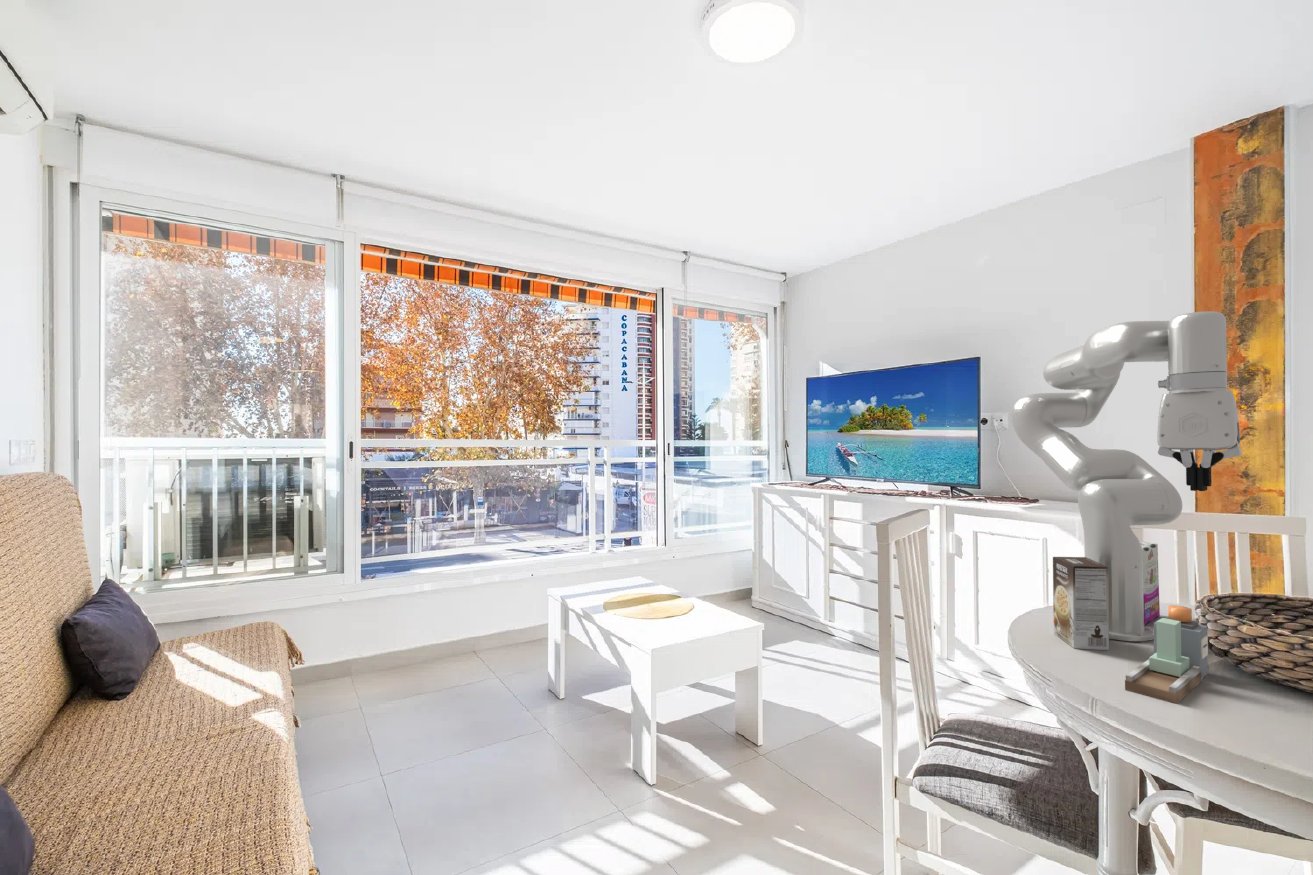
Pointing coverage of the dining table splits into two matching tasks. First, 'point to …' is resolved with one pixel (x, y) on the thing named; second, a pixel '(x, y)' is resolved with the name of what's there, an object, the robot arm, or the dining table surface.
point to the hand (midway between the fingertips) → (1198, 490)
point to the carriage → (1169, 649)
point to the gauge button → (1180, 613)
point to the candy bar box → (1150, 581)
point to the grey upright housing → (1192, 644)
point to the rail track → (1162, 683)
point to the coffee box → (1081, 602)
